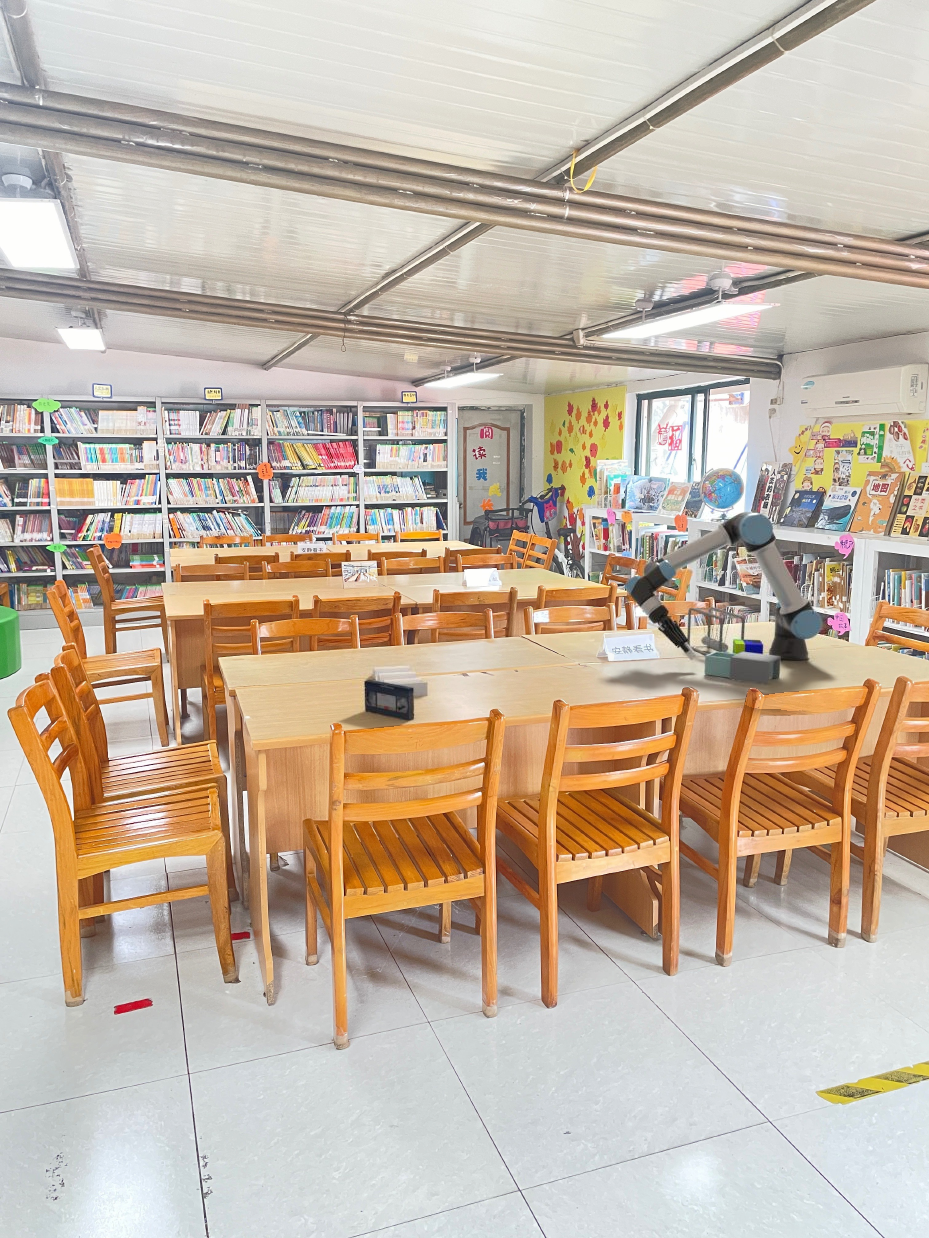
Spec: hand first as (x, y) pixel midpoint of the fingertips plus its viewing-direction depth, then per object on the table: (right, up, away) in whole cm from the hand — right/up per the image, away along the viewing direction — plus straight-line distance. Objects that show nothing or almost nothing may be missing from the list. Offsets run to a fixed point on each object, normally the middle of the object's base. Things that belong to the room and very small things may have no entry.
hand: (694, 657), depth 332 cm
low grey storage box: (+19, -7, -13) cm, 24 cm away
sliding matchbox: (+14, -6, -9) cm, 18 cm away
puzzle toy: (+22, -4, +7) cm, 24 cm away
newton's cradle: (+17, 0, +33) cm, 37 cm away
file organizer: (-110, -9, -22) cm, 113 cm away
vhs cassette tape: (-110, -15, -61) cm, 127 cm away
